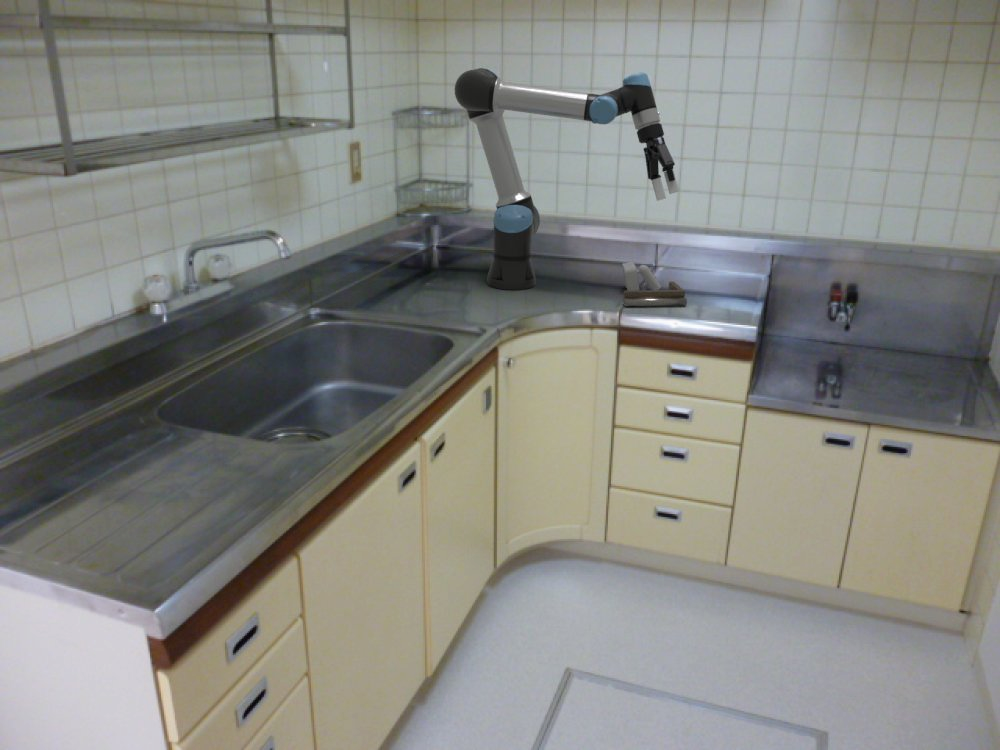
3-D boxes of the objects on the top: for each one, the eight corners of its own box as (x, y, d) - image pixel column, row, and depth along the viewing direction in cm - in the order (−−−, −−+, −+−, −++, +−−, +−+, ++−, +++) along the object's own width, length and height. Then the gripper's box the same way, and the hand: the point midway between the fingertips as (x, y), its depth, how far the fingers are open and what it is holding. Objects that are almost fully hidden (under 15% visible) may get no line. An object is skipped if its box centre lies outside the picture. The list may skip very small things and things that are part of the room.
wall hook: (663, 293, 253) (658, 262, 249) (629, 300, 254) (624, 269, 250) (659, 286, 260) (654, 255, 257) (626, 293, 261) (621, 262, 258)
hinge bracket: (626, 307, 241) (627, 294, 239) (615, 294, 253) (616, 282, 251) (686, 307, 243) (687, 293, 241) (672, 294, 255) (673, 281, 253)
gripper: (672, 112, 235) (692, 185, 237) (649, 132, 260) (667, 198, 262) (647, 119, 235) (667, 193, 236) (626, 139, 260) (645, 205, 261)
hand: (667, 196), depth 249 cm, fingers open, 13 cm apart
